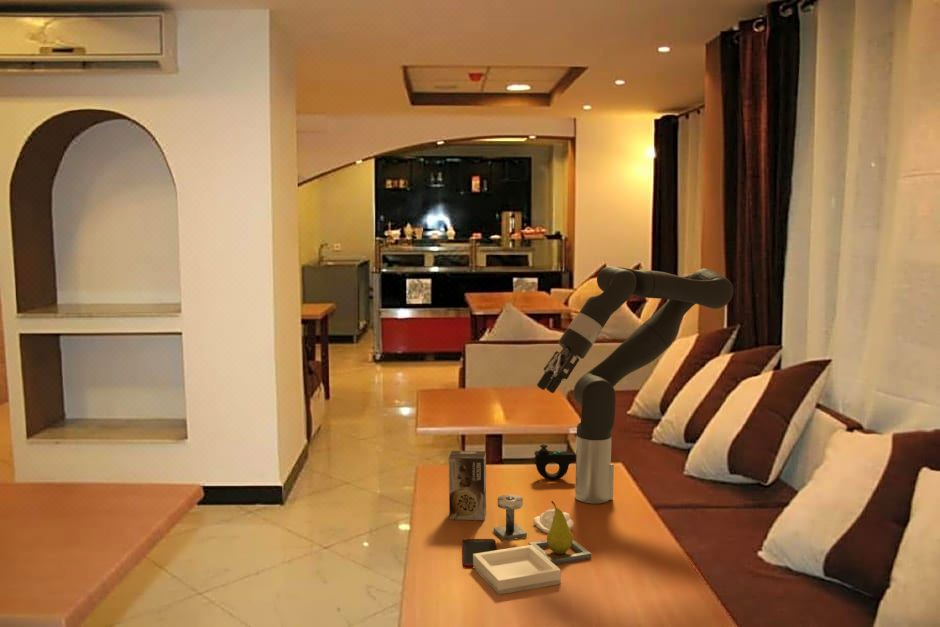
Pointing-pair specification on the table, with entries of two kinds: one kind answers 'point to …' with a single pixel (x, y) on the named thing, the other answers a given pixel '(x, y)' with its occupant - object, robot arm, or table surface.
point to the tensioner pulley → (510, 517)
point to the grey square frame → (566, 558)
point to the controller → (553, 456)
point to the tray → (516, 569)
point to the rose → (550, 520)
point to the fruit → (559, 533)
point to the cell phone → (475, 549)
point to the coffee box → (467, 485)
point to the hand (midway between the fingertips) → (544, 389)
